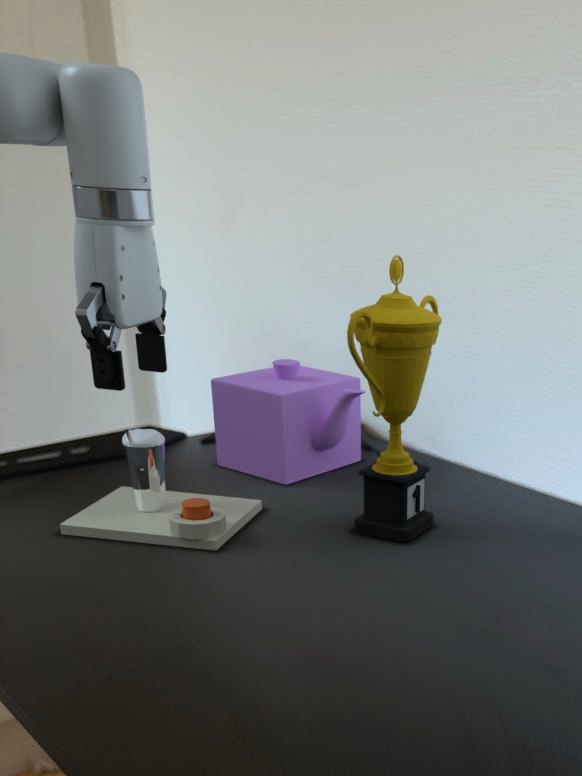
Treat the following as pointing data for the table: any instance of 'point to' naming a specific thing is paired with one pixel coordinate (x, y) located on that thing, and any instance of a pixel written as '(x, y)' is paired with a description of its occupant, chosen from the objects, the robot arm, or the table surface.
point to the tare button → (196, 509)
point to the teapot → (287, 421)
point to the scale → (162, 520)
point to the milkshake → (146, 467)
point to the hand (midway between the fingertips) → (132, 379)
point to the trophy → (394, 405)
